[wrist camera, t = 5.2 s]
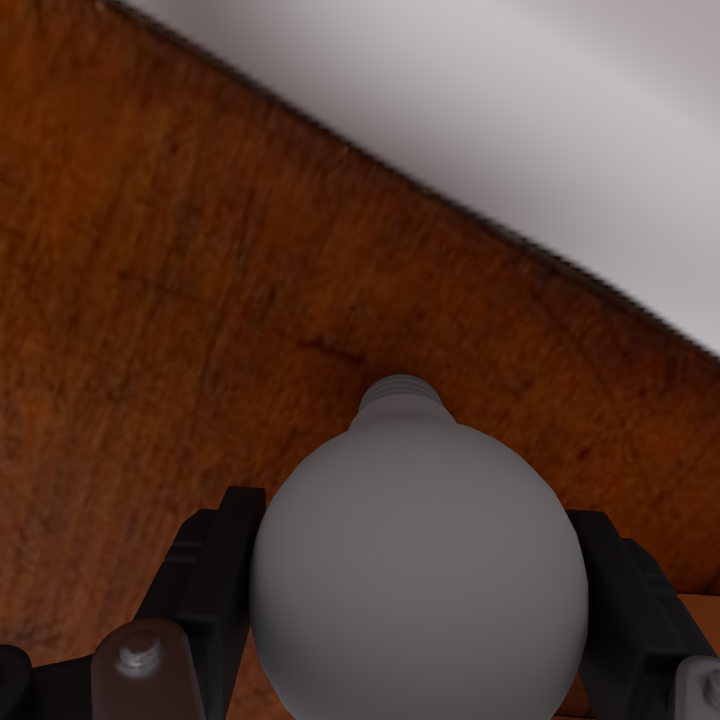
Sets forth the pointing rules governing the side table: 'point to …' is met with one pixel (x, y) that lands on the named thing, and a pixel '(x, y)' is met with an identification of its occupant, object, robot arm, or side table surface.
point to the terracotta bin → (568, 718)
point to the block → (705, 616)
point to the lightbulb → (417, 574)
